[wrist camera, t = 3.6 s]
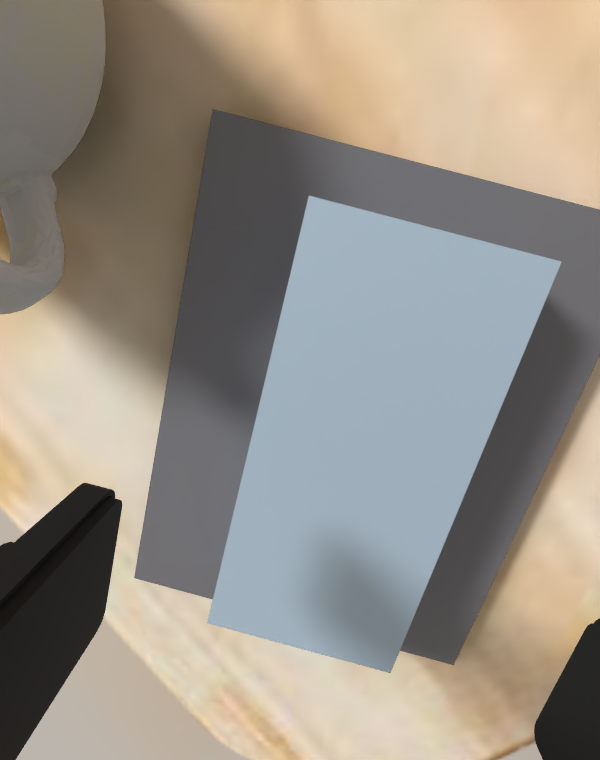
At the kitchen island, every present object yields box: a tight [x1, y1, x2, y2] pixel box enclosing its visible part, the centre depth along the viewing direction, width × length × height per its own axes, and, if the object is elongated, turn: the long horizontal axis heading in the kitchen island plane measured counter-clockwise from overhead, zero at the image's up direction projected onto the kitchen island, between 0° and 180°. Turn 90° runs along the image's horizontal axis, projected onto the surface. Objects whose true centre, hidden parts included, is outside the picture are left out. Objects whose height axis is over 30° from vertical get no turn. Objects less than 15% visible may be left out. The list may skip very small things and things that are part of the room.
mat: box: [134, 109, 600, 665], centre depth 16 cm, size 14×18×1 cm
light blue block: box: [207, 196, 561, 673], centre depth 14 cm, size 6×14×3 cm, turn 166°
